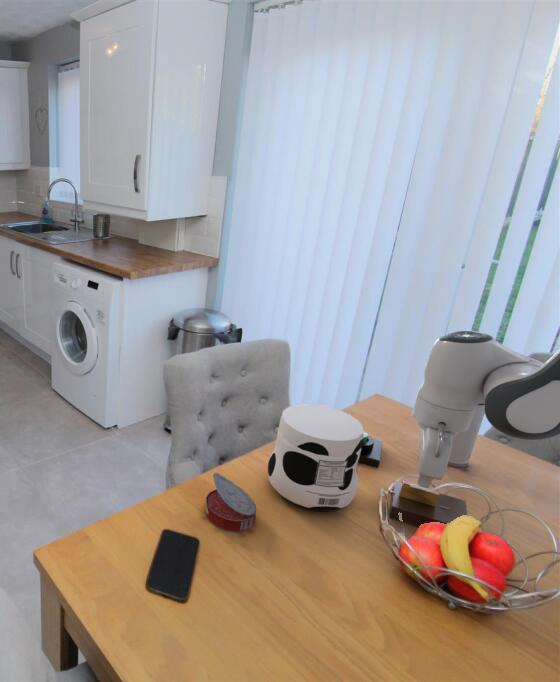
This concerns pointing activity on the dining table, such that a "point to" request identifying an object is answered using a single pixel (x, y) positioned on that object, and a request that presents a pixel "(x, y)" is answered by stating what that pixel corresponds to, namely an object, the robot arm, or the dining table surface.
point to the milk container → (316, 457)
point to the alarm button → (365, 437)
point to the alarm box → (371, 452)
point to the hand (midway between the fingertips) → (423, 472)
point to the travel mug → (466, 440)
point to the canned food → (229, 506)
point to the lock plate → (425, 509)
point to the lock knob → (419, 493)
